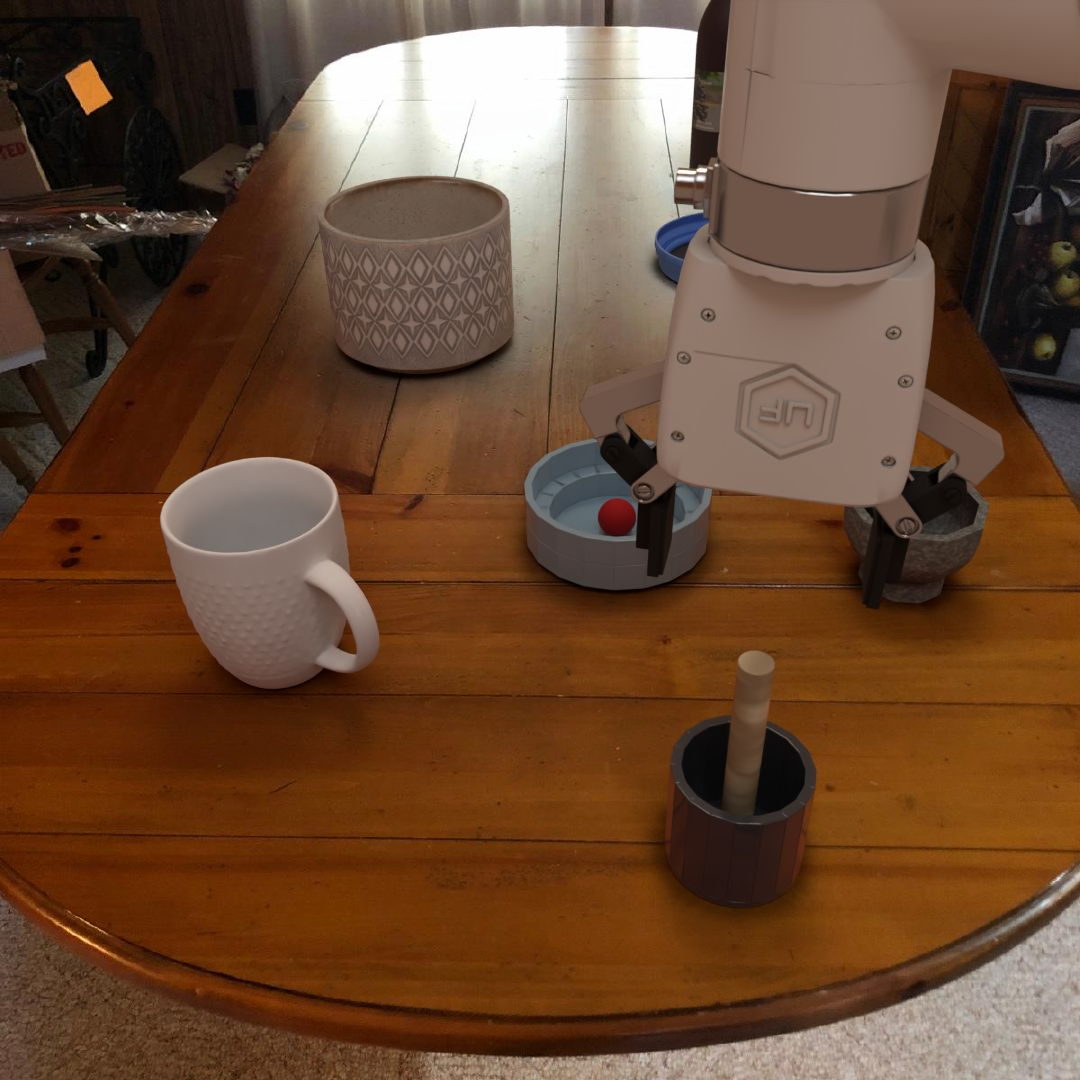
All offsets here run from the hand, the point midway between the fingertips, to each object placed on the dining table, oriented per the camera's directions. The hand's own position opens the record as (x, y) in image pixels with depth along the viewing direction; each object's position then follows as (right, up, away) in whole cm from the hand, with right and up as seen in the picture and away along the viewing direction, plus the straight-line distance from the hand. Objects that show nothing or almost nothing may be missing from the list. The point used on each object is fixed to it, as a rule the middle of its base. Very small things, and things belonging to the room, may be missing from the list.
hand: (762, 574), depth 51 cm
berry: (-4, +3, +35) cm, 35 cm away
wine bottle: (+14, +49, +100) cm, 113 cm away
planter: (-22, +22, +65) cm, 72 cm away
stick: (+1, -16, +11) cm, 19 cm away
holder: (+1, -16, +12) cm, 20 cm away
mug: (-27, -7, +25) cm, 38 cm away
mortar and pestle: (+16, -1, +32) cm, 36 cm away
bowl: (+12, +34, +79) cm, 87 cm away
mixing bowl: (-4, +2, +36) cm, 36 cm away
